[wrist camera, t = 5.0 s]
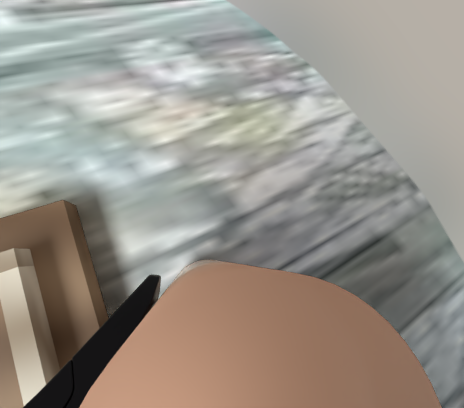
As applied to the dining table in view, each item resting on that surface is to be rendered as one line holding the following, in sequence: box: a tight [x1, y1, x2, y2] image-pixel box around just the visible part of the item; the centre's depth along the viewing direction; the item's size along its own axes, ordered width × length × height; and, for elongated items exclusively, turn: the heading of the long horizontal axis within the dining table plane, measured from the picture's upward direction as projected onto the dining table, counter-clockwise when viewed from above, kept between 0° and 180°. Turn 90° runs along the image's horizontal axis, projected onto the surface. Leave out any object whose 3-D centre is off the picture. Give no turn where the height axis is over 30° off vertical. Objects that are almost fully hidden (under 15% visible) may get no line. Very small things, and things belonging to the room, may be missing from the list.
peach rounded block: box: [79, 259, 442, 408], centre depth 9 cm, size 5×5×13 cm
